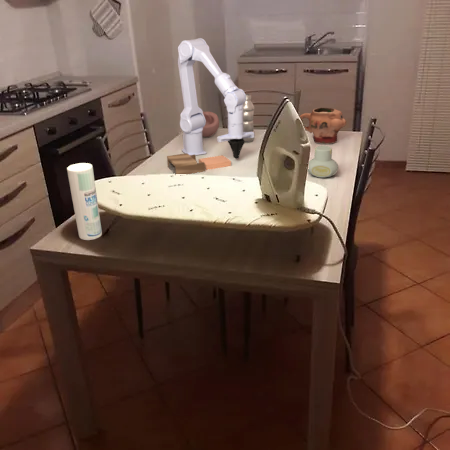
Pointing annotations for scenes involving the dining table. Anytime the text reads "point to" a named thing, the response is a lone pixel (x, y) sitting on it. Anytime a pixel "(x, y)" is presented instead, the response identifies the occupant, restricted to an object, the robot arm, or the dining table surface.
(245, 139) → the plastic bottle
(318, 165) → the air freshener
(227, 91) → the robot arm
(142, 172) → the dining table surface
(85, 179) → the spray can
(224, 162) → the tile
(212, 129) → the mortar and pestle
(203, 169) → the cubby
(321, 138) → the decorative planter
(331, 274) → the dining table surface
